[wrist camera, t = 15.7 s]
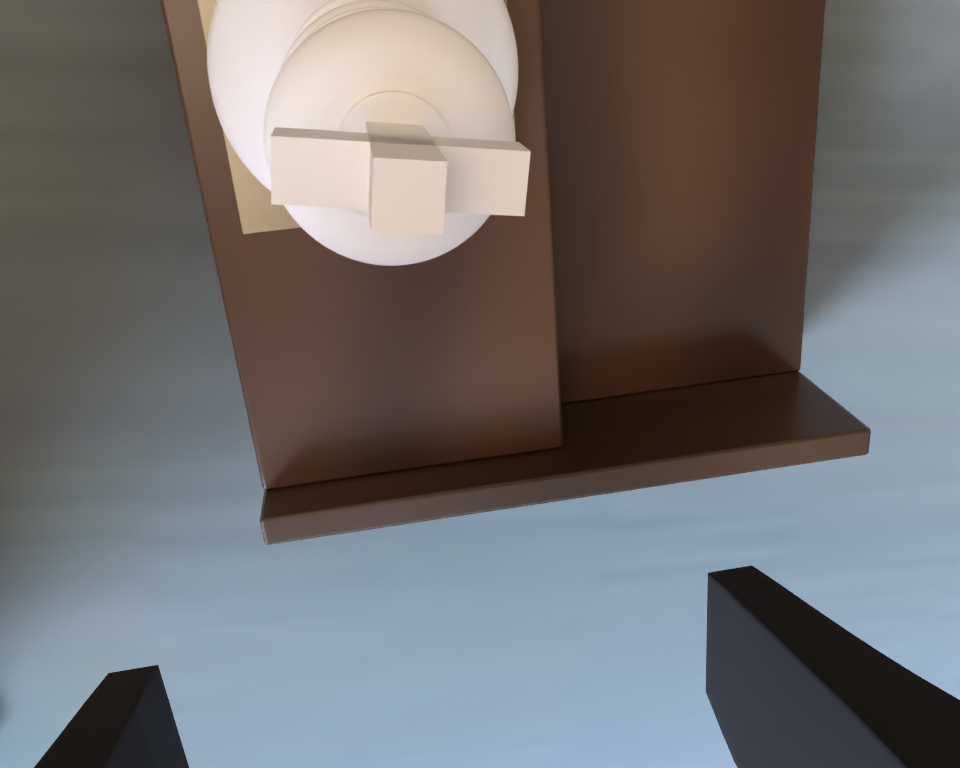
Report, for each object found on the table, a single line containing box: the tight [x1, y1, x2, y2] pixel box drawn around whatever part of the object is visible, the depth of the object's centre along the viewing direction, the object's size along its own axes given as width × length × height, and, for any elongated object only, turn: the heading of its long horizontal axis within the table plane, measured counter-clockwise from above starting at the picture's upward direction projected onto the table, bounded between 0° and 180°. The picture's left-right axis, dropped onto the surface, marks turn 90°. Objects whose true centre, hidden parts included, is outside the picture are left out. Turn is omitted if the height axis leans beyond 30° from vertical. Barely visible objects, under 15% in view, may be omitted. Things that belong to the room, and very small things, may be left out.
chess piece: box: [207, 0, 531, 266], centre depth 10 cm, size 5×5×10 cm
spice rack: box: [160, 0, 871, 545], centre depth 16 cm, size 12×16×5 cm
